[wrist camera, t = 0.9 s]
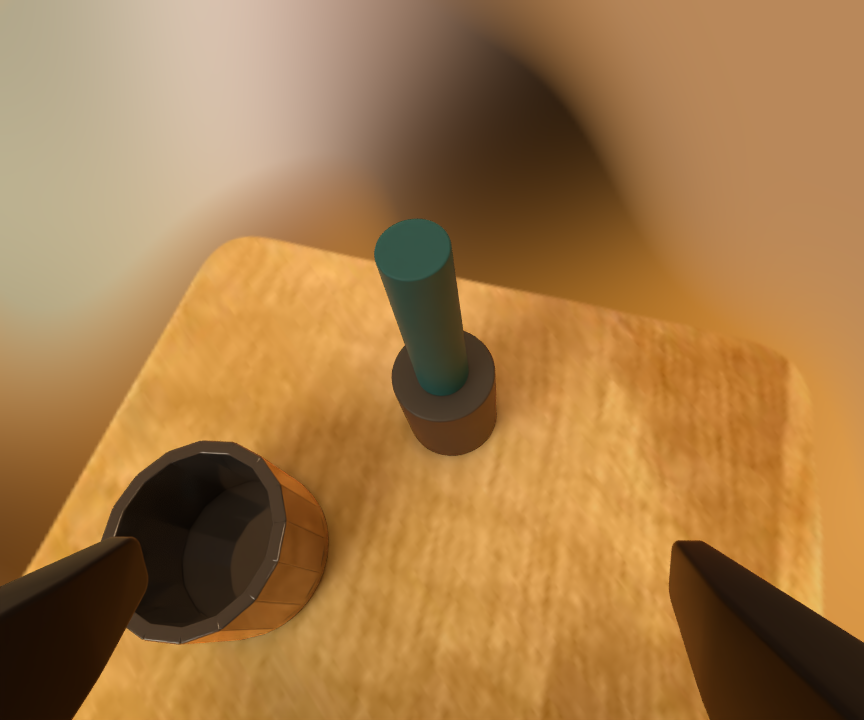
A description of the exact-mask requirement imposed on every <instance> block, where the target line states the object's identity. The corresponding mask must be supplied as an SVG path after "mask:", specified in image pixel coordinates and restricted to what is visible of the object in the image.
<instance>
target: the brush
mask: <svg viewBox="0 0 864 720" xmlns="http://www.w3.org/2000/svg"><path fill="white" fill-rule="evenodd" d="M374 257H375V262H376V265H377V268H378V270H379V273H380V276H381V279H382V282H383V284H384V287H385V290H386V293H387V296H388V298H389V301H390V304H391V307H392V310H393V312H394V315H395V318H396V321H397V324H398V326H399V329H400V332H401V335H402V338H403V340H404V343H405V346H404V347H403V348H402V350H401V351H400V352H399V354H398V356H397V358H396V360H395V362H394V365H393V370H392V385H393V390H394V392H395V395H396V397H397V399H398V401H399V403H400V406H401V408H402V410H403V412H404V414H405V416H406V418H407V420H408V422H409V424H410V426H411V428H412V431H413V433H414V434H415V436H416V438H417V439H418V440H419V441H420V442H421V443H422V444H423V445H424V446H425V447H426V448H428V449H429V450H431V451H433V452H436V453H438V454H442V455H449V456H451V455H462V454H465V453H468V452H471V451H473V450H475V449H476V448H478V447H479V446H481V445H482V444H483V443H484V442H485V441H486V440H487V439H488V437H489V436H490V434H491V433H492V431H493V428H494V426H495V422H496V415H497V413H496V383H495V366H494V361H493V358H492V356H491V354H490V352H489V350H488V349H487V347H486V346H485V345H484V344H483V343H482V342H481V341H480V340H479V339H478V338H476V337H475V336H473V335H472V334H470V333H467V332H465V331H463V325H462V318H461V311H460V304H459V297H458V289H457V282H456V275H455V268H454V262H453V253H452V247H451V241H450V238H449V236H448V234H447V233H446V231H445V230H444V229H443V228H442V227H441V226H439V225H438V224H436V223H434V222H432V221H429V220H425V219H408V220H404V221H401V222H398V223H396V224H394V225H392V226H391V227H389V228H388V229H387V230H385V232H384V233H383V234H382V235H381V236H380V237H379V239H378V241H377V243H376V247H375V251H374Z"/></svg>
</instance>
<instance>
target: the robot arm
mask: <svg viewBox="0 0 864 720" xmlns="http://www.w3.org/2000/svg"><path fill="white" fill-rule="evenodd" d="M147 586H148V573H147V569H146V565H145V561H144V557H143V553H142V549H141V545H140V543H139V541H138V540H137V539H136V538H134V537H111V538H108V539H106V540H103V541H101V542H99V543H97V544H94V545H92V546H90V547H88V548H86V549H83V550H81V551H79V552H77V553H74V554H72V555H70V556H68V557H65V558H63V559H61V560H59V561H56V562H54V563H52V564H50V565H47V566H45V567H43V568H41V569H38V570H36V571H34V572H32V573H29V574H27V575H25V576H23V577H20V578H18V579H16V580H14V581H12V582H9V583H7V584H5V585H3V586H0V720H72V719H73V717H74V716H75V714H76V713H77V711H78V710H79V708H80V707H81V705H82V704H83V702H84V700H85V699H86V697H87V696H88V694H89V693H90V691H91V690H92V688H93V686H94V685H95V683H96V681H97V680H98V678H99V677H100V675H101V673H102V671H103V669H104V668H105V666H106V664H107V662H108V661H109V659H110V657H111V655H112V653H113V651H114V649H115V648H116V646H117V644H118V642H119V640H120V638H121V636H122V635H123V633H124V631H125V629H126V627H127V625H128V623H129V622H130V620H131V618H132V616H133V614H134V612H135V610H136V609H137V607H138V605H139V603H140V601H141V599H142V597H143V596H144V594H145V592H146V589H147ZM669 594H670V599H671V603H672V606H673V609H674V612H675V616H676V619H677V622H678V625H679V629H680V632H681V635H682V638H683V641H684V645H685V648H686V651H687V654H688V657H689V661H690V664H691V667H692V670H693V674H694V677H695V680H696V683H697V686H698V689H699V692H700V695H701V698H702V701H703V703H704V706H705V708H706V711H707V713H708V716H709V718H710V720H864V643H863V642H862V641H860V640H858V639H857V638H855V637H854V636H852V635H850V634H849V633H847V632H846V631H844V630H842V629H841V628H840V627H838V626H836V625H835V624H833V623H832V622H830V621H828V620H827V619H825V618H824V617H822V616H821V615H819V614H817V613H816V612H814V611H813V610H811V609H809V608H808V607H806V606H805V605H803V604H802V603H800V602H798V601H797V600H795V599H794V598H792V597H790V596H789V595H787V594H786V593H784V592H783V591H781V590H779V589H778V588H776V587H775V586H773V585H771V584H770V583H768V582H767V581H765V580H764V579H762V578H760V577H759V576H757V575H756V574H754V573H752V572H751V571H749V570H748V569H746V568H744V567H743V566H741V565H740V564H738V563H737V562H735V561H733V560H732V559H730V558H729V557H727V556H725V555H724V554H722V553H721V552H719V551H718V550H716V549H714V548H713V547H711V546H710V545H708V544H706V543H705V542H703V541H681V540H678V541H676V542H675V543H674V544H673V546H672V551H671V563H670V576H669Z"/></svg>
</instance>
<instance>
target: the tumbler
mask: <svg viewBox="0 0 864 720" xmlns="http://www.w3.org/2000/svg"><path fill="white" fill-rule="evenodd" d="M111 537H134V538H136V539H137V540H138V541H139V543H140V545H141V549H142V553H143V557H144V561H145V565H146V569H147V573H148V586H147V589H146V592H145V594H144V596H143V597H142V599H141V601H140V603H139V605H138V607H137V609H136V610H135V612H134V614H133V616H132V618H131V620H130V622H129V623H128V625H127V627H126V628H127V629H129V630H130V631H131V632H133V633H134V634H135V635H137V636H138V637H139V638H141V639H142V640H145V641H153V642H161V643H170V644H178V645H181V644H194V643H207V642H220V641H233V640H244V639H246V638H249V637H255V636H259V635H263V634H266V633H268V632H270V631H273V630H275V629H277V628H278V627H280V626H282V625H283V624H285V623H286V622H287V621H289V620H290V619H291V618H293V617H294V616H295V615H296V614H297V613H298V612H299V611H300V610H301V609H302V608H303V607H304V605H305V604H306V603H307V602H308V600H309V599H310V598H311V596H312V594H313V593H314V591H315V590H316V588H317V586H318V583H319V581H320V579H321V577H322V574H323V571H324V568H325V564H326V559H327V553H328V531H327V525H326V521H325V517H324V514H323V512H322V510H321V507H320V506H319V504H318V502H317V501H316V499H315V498H314V496H313V495H312V494H311V493H310V492H309V491H308V490H307V489H306V488H305V487H304V485H302V484H301V483H300V482H298V481H297V480H295V479H294V478H292V477H291V476H289V475H288V474H286V473H285V472H283V471H282V470H280V469H279V468H277V467H276V466H274V465H273V464H271V463H270V462H269V461H267V460H266V459H264V458H263V457H261V456H259V455H257V454H256V453H254V452H252V451H250V450H248V449H246V448H245V447H243V446H241V445H239V444H237V443H234V442H223V441H204V440H203V441H198V442H195V443H192V444H189V445H186V446H183V447H180V448H177V449H174V450H171V451H169V452H167V453H165V454H164V455H163V456H161V457H160V458H159V459H157V460H156V461H155V462H153V463H152V464H151V465H149V466H148V467H147V468H145V469H144V470H143V471H141V472H140V473H139V474H138V476H136V477H135V478H134V479H133V481H132V482H131V483H130V485H129V486H128V487H127V489H126V490H125V491H124V493H123V494H122V496H121V497H120V498H119V500H118V501H117V502H116V504H115V505H114V508H113V509H112V511H111V514H110V517H109V520H108V522H107V525H106V528H105V531H104V534H103V537H102V540H101V541H103V540H106V539H108V538H111Z"/></svg>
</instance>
